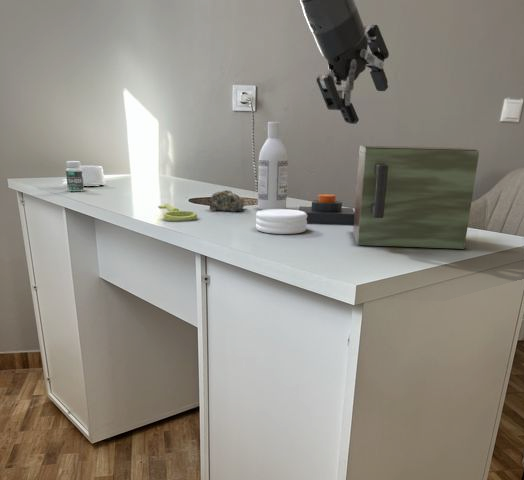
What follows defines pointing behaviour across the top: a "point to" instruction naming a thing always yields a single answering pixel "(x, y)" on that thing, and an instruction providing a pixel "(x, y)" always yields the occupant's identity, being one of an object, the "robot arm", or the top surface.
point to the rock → (226, 201)
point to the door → (416, 197)
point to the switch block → (328, 213)
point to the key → (177, 214)
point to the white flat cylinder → (281, 221)
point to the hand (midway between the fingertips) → (368, 105)
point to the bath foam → (272, 171)
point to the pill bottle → (74, 176)
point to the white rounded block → (92, 175)
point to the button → (327, 198)
